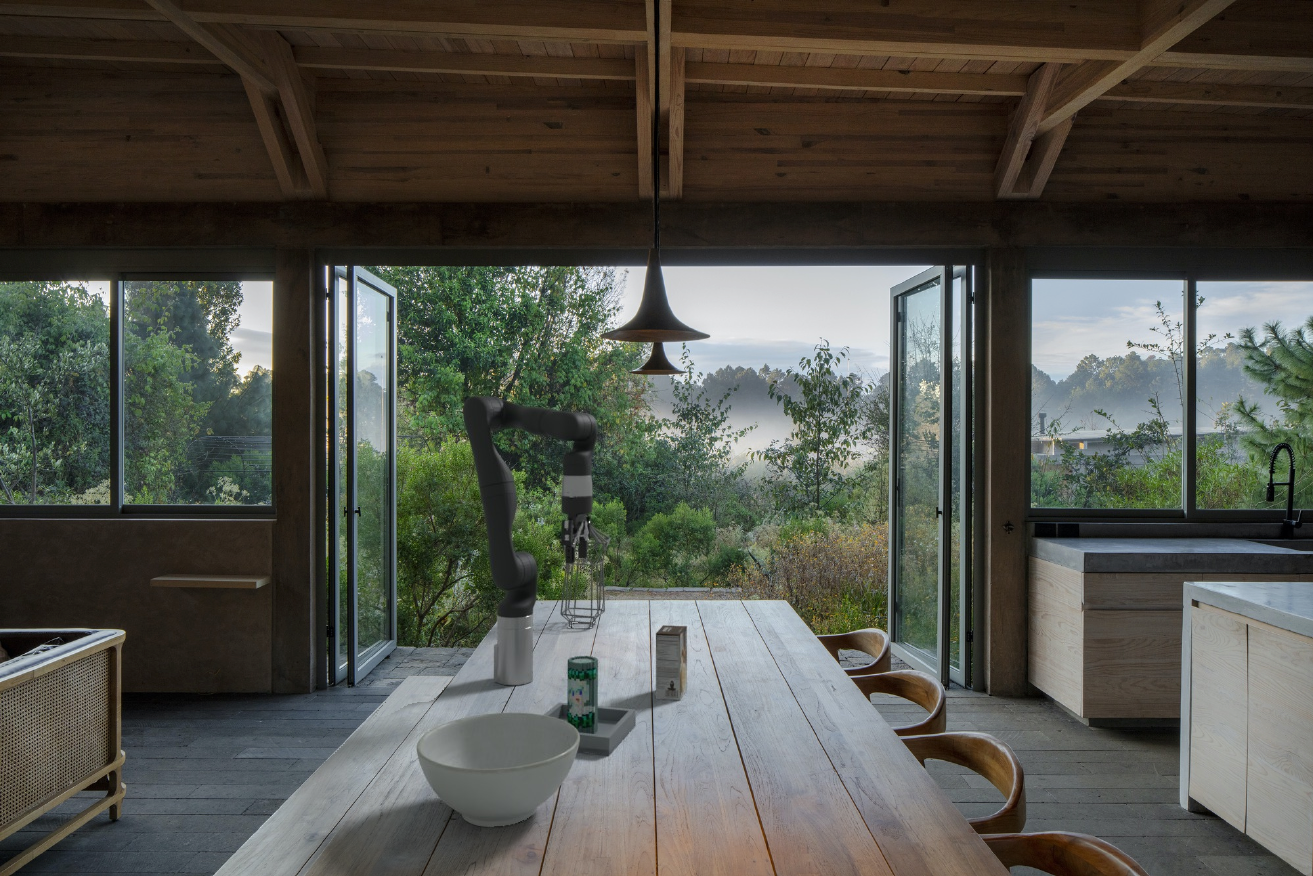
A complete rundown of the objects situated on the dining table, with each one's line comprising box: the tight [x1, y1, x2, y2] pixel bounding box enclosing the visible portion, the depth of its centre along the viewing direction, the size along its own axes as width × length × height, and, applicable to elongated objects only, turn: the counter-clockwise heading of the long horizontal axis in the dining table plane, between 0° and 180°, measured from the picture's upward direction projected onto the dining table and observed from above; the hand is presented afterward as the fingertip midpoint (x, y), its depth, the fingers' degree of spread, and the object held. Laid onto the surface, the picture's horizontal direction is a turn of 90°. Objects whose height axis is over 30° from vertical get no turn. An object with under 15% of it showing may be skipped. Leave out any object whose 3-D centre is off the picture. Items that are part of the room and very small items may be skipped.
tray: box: [543, 702, 637, 756], centre depth 173 cm, size 18×18×4 cm
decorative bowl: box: [416, 712, 580, 828], centre depth 137 cm, size 27×27×12 cm
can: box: [566, 655, 599, 734], centre depth 173 cm, size 6×6×15 cm
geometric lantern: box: [558, 525, 612, 628], centre depth 278 cm, size 16×16×35 cm
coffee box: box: [655, 625, 688, 701], centre depth 202 cm, size 9×6×16 cm
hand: (576, 560), depth 200 cm, fingers open, 8 cm apart
